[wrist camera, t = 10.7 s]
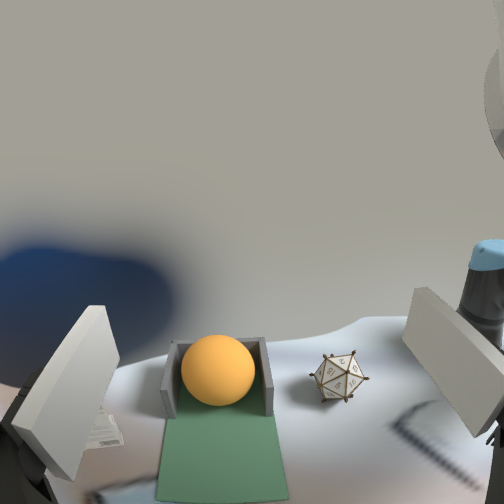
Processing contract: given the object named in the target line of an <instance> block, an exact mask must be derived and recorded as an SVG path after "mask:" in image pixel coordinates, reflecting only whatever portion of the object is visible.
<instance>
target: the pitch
mask: <svg viewBox="0 0 504 504" xmlns="http://www.w3.org/2000/svg"><path fill="white" fill-rule="evenodd" d="M235 340H237V341H239V342H240V343H241V344H243V345H244V346H245V347H246V349H247V350H248V351H249V353H250V354H251V356H252V359H253V362H254V366H255V376H254V381H253V384H252V386H251V388H250V389H249V391H248V392H247V394H246V395H245V396H244V397H242V398H241V399H240V400H238V401H236V402H235V403H232V404H229V405H224V406H213V405H208V404H205V403H203V402H201V401H199V400H198V399H196V398H195V397H194V396H193V395H192V394H191V393H190V392H189V391H188V389H187V388H186V386H185V384H184V382H183V379H182V373H181V366H182V361H183V358H184V355H185V353H186V352H187V350H188V349H189V347H190V346H191V345H192V344H194V343H195V342H196V341H198V340H172V342H171V346H170V350H169V354H168V358H167V362H166V366H165V370H164V375H163V379H162V383H161V388H160V392H161V395H162V398H163V401H164V405H165V408H166V411H167V414H168V419H167V425H166V432H165V438H164V444H163V451H162V458H161V465H160V472H159V479H158V487H157V494H156V500H157V501H164V502H175V503H191V504H244V503H260V502H272V501H281V500H289V497H288V492H287V486H286V480H285V475H284V469H283V463H282V458H281V452H280V446H279V440H278V435H277V429H276V423H275V417H274V411H273V396H274V386H273V380H272V375H271V369H270V364H269V359H268V353H267V348H266V343H265V338H264V337H258V338H238V339H235Z"/></svg>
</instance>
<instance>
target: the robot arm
mask: <svg viewBox="0 0 504 504" xmlns="http://www.w3.org/2000/svg"><path fill="white" fill-rule="evenodd" d="M493 1H494V7H495V15H496V22H497V32H498V45H499V49H498V50H497V51H496V52H495V54H494V56H493V57H492V58H491V61H490V63H489V65H488V68H487V72H486V76H485V82H484V104H485V111H486V116H487V121H488V124H489V128H490V131H491V134H492V137H493V139H494V142H495V145H496V146H497V148H498V150H499V152H500V154H501V156H502V157H503V159H504V0H493ZM468 267H469V270H468V274H467V278H466V282H465V286H464V290H463V294H462V297H461V301H460V304H459V307H458V309H457V310H456V311H455V310H454V309H453V308H452V307H450V306H449V305H448V304H447V303H446V302H445V301H444V300H442V299H441V298H440V297H439V296H438V295H436V294H435V293H434V292H433V291H432V290H431V289H429V288H428V287H422V288H415V289H414V293H413V297H412V302H411V306H410V310H409V315H408V318H407V322H406V326H405V330H404V334H403V337H402V340H403V342H404V343H405V344H406V345H407V347H408V348H409V349H410V350H411V352H412V353H413V354H414V356H415V357H416V358H417V360H418V361H419V362H420V363H421V365H422V366H423V367H424V369H425V370H426V371H427V373H428V374H429V375H430V377H431V378H432V379H433V381H434V382H435V383H436V385H437V386H438V388H439V389H440V390H441V392H442V393H443V394H444V396H445V397H446V399H447V400H448V401H449V403H450V404H451V406H452V407H453V408H454V410H455V411H456V413H457V414H458V415H459V417H460V418H461V420H462V421H463V423H464V424H465V426H466V427H467V429H468V430H469V431H470V433H471V434H472V436H473V437H474V438H476V437H478V436H479V435H481V434H483V433H485V432H487V431H488V430H489V428H490V427H491V426H492V424H493V423H494V421H495V420H496V421H497V422H498V424H499V425H498V426H497V427H496V429H495V430H494V432H493V433H492V434H491V436H490V437H489V438H488V440H487V442H486V445H488V444H489V443H490V441H491V440H492V439H493V438H494V441H493V443H492V444H491V446H494V449H493V458H492V466H491V473H490V479H489V485H488V490H487V496H486V500H485V504H504V351H503V350H502V349H501V346H502V336H503V326H504V240H495V239H493V240H484V241H480V242H479V243H477V244H476V245H475V246H474V248H473V252H472V256H471V260H470V262H469V265H468ZM119 360H120V358H119V354H118V351H117V348H116V345H115V341H114V338H113V335H112V332H111V328H110V324H109V321H108V317H107V313H106V310H105V306H88V307H87V309H86V310H85V311H84V313H83V314H82V315H81V317H80V318H79V319H78V321H77V322H76V324H75V325H74V326H73V328H72V329H71V330H70V332H69V333H68V335H67V336H66V338H65V339H64V340H63V342H62V343H61V345H60V346H59V347H58V349H57V350H56V352H55V354H54V355H53V356H52V358H51V359H50V361H49V362H48V364H47V365H46V367H45V368H44V369H42V368H39V369H37V370H36V371H35V372H34V373H33V374H31V375H30V376H29V377H28V379H27V380H26V382H25V383H24V385H23V388H21V390H20V391H19V393H18V396H16V397H15V399H14V401H13V402H12V404H11V406H10V407H9V409H8V411H7V412H6V414H5V416H4V417H3V419H2V421H1V422H0V504H58V502H57V500H56V497H55V495H54V493H53V491H52V488H51V486H50V484H49V481H48V479H47V478H46V476H45V475H44V472H45V469H46V467H47V468H48V470H49V471H50V472H51V473H52V474H53V475H54V476H56V477H59V478H62V479H65V480H69V481H72V482H74V480H75V477H76V474H77V471H78V468H79V465H80V462H81V459H82V456H83V453H84V450H85V447H86V444H87V441H88V438H89V436H90V433H91V430H92V427H93V425H94V422H95V419H96V417H97V414H98V411H99V409H100V406H101V404H102V401H103V399H104V396H105V394H106V391H107V389H108V386H109V384H110V381H111V379H112V376H113V374H114V372H115V369H116V367H117V364H118V362H119Z"/></svg>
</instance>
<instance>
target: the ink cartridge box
mask: <svg viewBox="0 0 504 504" xmlns="http://www.w3.org/2000/svg"><path fill="white" fill-rule="evenodd" d="M123 445H124V440H123V435H122V433H121V431H120V429H119V427H118V425H117V423H116V421H115V419H114V417H113V415H112V414H110V415H107V414H106V412H105V410H104V408H103V406H102V404H101V406H100V409H99V411H98V414H97V417H96V419H95V422H94V425H93V427H92V430H91V433H90V436H89V438H88V441H87V444H86V447H85V450H88V449H98V448H108V447H116V446H123Z"/></svg>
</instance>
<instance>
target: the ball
mask: <svg viewBox="0 0 504 504" xmlns="http://www.w3.org/2000/svg"><path fill="white" fill-rule="evenodd" d="M181 373H182V379H183V382H184V384H185V386H186V388H187V389H188V391H189V392H190V393H191V394H192V395H193V396H194V397H195V398H196V399H198V400H199V401H201V402H203V403H205V404H208V405H213V406H224V405H229V404H232V403H235V402H236V401H238V400H240V399H241V398H242V397H244V396H245V395H246V394H247V392H248V391H249V389H250V388H251V386H252V384H253V381H254V376H255V366H254V362H253V359H252V356H251V354H250V353H249V351H248V350H247V349H246V347H245V346H244V345H243V344H241V343H240V342H239V341H237V340H235V339H234V338H231V337H228V336H224V335H211V336H206V337H204V338H201V339H199V340H198V341H196V342H195V343H194V344H192V345H191V346H190V347H189V349H188V350H187V352H186V353H185V355H184V358H183V361H182V366H181Z"/></svg>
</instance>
